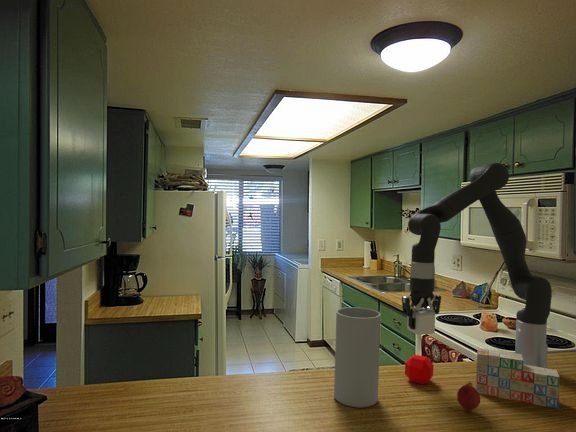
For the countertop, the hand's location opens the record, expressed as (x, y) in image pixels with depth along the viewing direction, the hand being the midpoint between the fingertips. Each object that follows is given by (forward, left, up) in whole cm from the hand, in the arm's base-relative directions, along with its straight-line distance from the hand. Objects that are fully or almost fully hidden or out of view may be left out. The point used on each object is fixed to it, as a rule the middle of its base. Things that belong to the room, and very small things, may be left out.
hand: (420, 327), depth 134 cm
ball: (0, 0, -17) cm, 17 cm away
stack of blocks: (-21, +18, -18) cm, 33 cm away
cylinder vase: (+26, +5, -17) cm, 32 cm away
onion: (0, +21, -17) cm, 27 cm away
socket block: (0, 0, -1) cm, 1 cm away
